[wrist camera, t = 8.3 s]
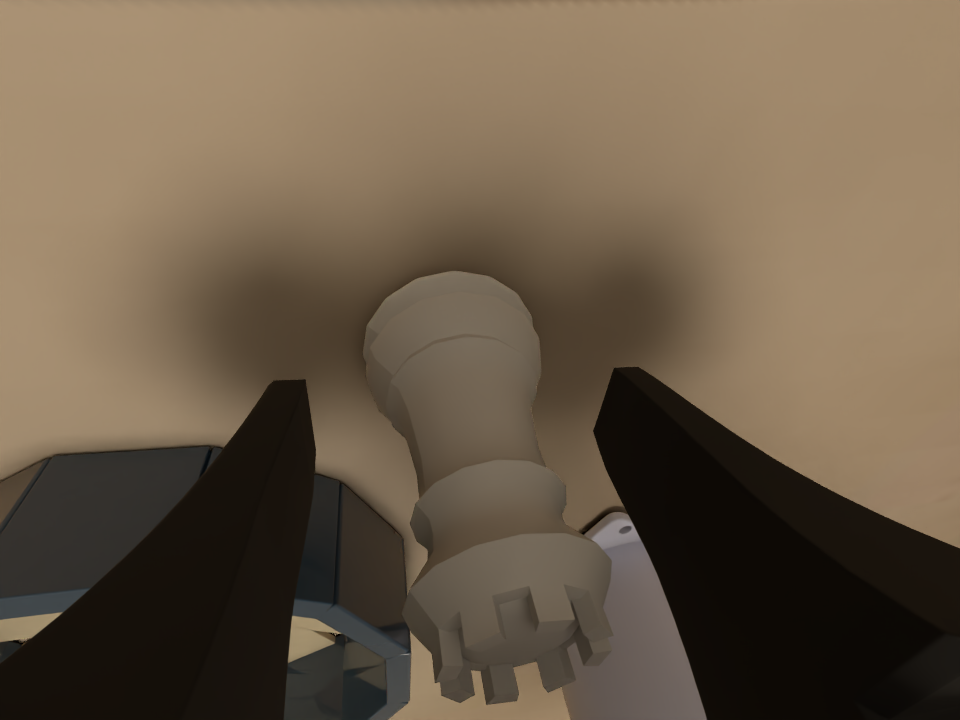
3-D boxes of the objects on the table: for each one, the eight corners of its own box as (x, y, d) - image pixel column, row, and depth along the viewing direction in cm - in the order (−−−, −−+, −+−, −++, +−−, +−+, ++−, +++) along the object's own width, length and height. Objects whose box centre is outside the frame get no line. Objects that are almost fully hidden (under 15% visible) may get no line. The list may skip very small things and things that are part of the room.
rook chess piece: (340, 381, 13) (316, 739, 7) (398, 234, 11) (441, 559, 5) (485, 415, 15) (572, 723, 9) (559, 294, 13) (748, 588, 6)
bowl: (476, 517, 18) (499, 628, 15) (307, 688, 24) (298, 793, 21) (-36, 377, 11) (-194, 529, 8) (-94, 666, 17) (-198, 818, 14)
